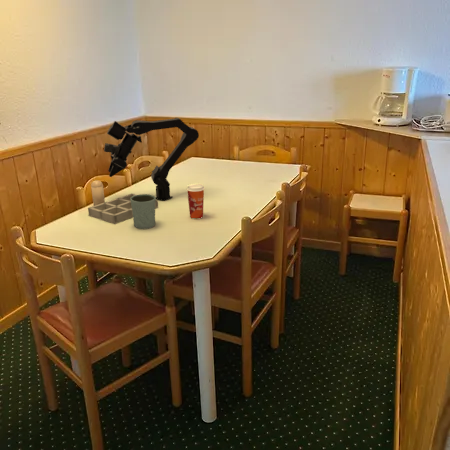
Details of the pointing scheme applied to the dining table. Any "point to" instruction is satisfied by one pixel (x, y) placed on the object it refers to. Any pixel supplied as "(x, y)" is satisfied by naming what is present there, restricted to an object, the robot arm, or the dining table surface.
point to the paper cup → (195, 200)
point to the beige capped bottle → (97, 192)
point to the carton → (114, 209)
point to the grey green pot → (143, 210)
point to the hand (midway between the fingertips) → (109, 174)
